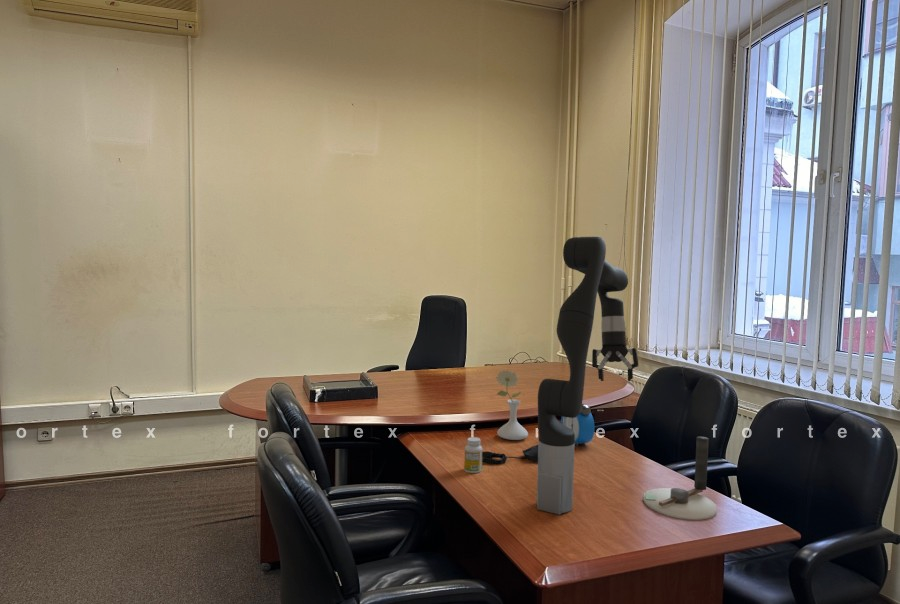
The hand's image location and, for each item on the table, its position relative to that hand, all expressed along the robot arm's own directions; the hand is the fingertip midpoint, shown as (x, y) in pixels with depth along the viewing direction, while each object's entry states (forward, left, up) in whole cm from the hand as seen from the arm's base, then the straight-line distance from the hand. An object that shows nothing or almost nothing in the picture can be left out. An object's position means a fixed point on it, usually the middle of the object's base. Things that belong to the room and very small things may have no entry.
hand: (615, 381), depth 180 cm
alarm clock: (+13, +16, -27) cm, 34 cm away
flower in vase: (+6, +39, -27) cm, 47 cm away
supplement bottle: (-32, +35, -27) cm, 54 cm away
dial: (-24, -24, -25) cm, 42 cm away
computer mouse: (-14, +27, -27) cm, 41 cm away
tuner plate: (-25, -23, -27) cm, 43 cm away
